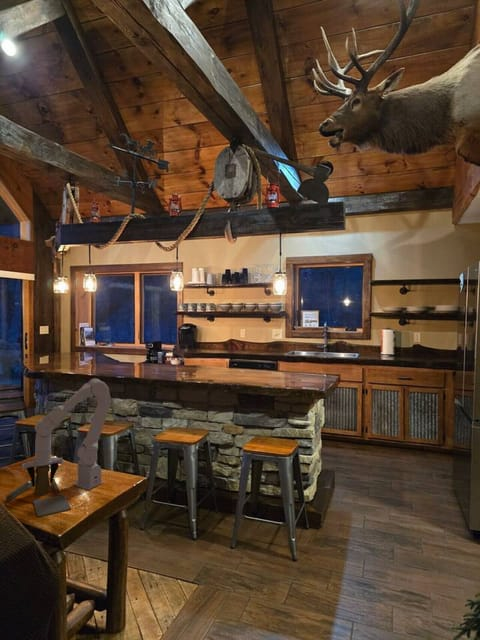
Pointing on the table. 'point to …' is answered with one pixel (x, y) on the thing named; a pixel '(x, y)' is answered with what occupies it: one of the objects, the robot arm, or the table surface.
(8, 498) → the bar
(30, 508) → the table surface
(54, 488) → the rail
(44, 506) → the mat
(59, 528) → the table surface
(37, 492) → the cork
